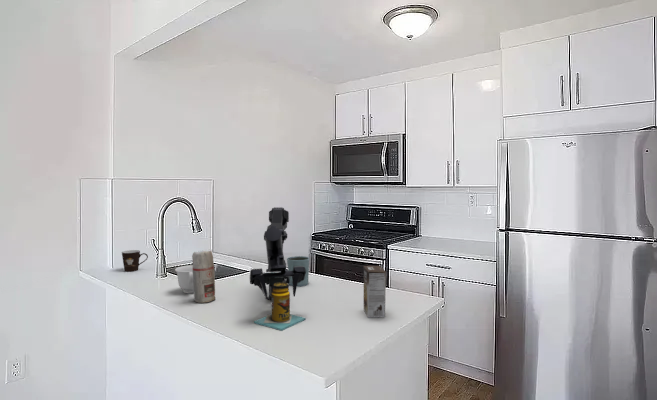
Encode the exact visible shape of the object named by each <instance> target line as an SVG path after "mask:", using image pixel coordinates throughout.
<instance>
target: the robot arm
mask: <svg viewBox="0 0 657 400" xmlns="http://www.w3.org/2000/svg"><path fill="white" fill-rule="evenodd" d="M289 212H290V211H288V210H286V209H285V208H284V207H282V206H281V207H280V206H279V207H272V208H271V210H269V211H268V221H269V223H270V224H269V225H267V226H266V227H267V228H266V231H264V234H263V240H264V241H265V246H266V247H265V248H266V258H267V268H266V271H263V268H262V267H261V268H251V269H250V272H249V285H253V286H257V287H259V289H260V291H261V292H262V294H263V296H264V298H265V299H266V300H270V301H272V292H273V284H275V283H287V284H288V285H289V283H290V277H292V280H293V281H292V284H293V286H292V295H293V297H296V293H297V288H298V287H297V284H298V283H300V282H301V281H303V280H304V278H305V274H306V269H305V267H304V266H295V267H293V271H288V268H287V263H286V260H285V257H284V256H285V255H284V243H285V241H286V240H287V239H288V233H287V231H286V229H287V228H288V223H289V221H290V213H289ZM266 285H267V286H268V289H267V286H266ZM267 290H268V291H267Z"/></svg>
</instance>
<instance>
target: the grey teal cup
mask: <svg viewBox="0 0 657 400" xmlns="http://www.w3.org/2000/svg"><path fill="white" fill-rule="evenodd" d="M286 261H287V263H286V265H287V269H288V271H293V267H295V266H304V267H305V269H306V274H305V278H304V280H303V281H301V282H300V283H298V284H297V288H298V287H299V288H300V287H306V286H308V285H309V274H310V270H309V269H310V268H309V267H310V257H309V256H303V255H301V256H300V255H299V256H297V255H296V256H289V257H287V258H286ZM292 281H293V280H292V277H290V283H288V285H289V286H290V287H293V284H292Z"/></svg>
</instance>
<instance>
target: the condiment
mask: <svg viewBox="0 0 657 400" xmlns="http://www.w3.org/2000/svg"><path fill="white" fill-rule="evenodd" d="M289 286H290V284H289V283H288V284H287V283H275V284H273V292H272V300H271V314H272V315H271V314H267V315H266V316H267V317H266V316H265V317H266V319H265V321H264V323H290V321H291V317H292V315H293V314H291V299H290V298H291V297H290V296H291V293H290V287H289ZM290 314H291V315H290Z"/></svg>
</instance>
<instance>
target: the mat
mask: <svg viewBox="0 0 657 400" xmlns="http://www.w3.org/2000/svg"><path fill="white" fill-rule="evenodd" d="M270 315H272V313H271V314H270ZM290 315H292V317H291V321H290V323H264V321H265V319H266V317H267V315H266V316H264V317H261V318H259V319H256V320H253V323H254V324H256V325H260V326H264V327H267V328H271V329H275V330H279V331H282V332H283V331H284V330H287V329H289V328H291V327H293V326H294V325H298V324H299V323H302V322H303V321H306V317H303V316H301V315H295V314H291V313H290Z"/></svg>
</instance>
